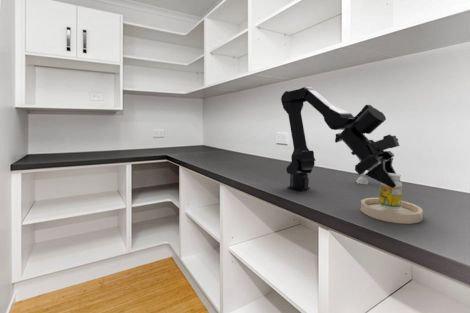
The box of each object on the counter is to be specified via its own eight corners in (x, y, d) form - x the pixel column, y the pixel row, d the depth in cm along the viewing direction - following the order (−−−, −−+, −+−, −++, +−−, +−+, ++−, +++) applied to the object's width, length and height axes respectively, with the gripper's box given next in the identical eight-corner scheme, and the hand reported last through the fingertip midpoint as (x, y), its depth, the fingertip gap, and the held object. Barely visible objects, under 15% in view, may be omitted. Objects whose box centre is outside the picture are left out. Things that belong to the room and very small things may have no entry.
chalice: (374, 184, 107) (377, 142, 104) (359, 184, 106) (362, 142, 104) (364, 180, 114) (367, 141, 111) (350, 181, 113) (352, 141, 111)
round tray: (351, 212, 73) (352, 204, 73) (372, 202, 83) (373, 195, 82) (411, 228, 62) (412, 219, 61) (428, 214, 71) (429, 206, 71)
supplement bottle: (404, 209, 70) (408, 176, 68) (385, 209, 70) (388, 176, 68) (392, 203, 75) (395, 172, 73) (375, 203, 75) (377, 172, 74)
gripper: (371, 125, 65) (417, 173, 59) (389, 125, 78) (429, 164, 72) (338, 152, 72) (378, 197, 66) (360, 148, 85) (395, 185, 79)
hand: (396, 185), depth 70 cm, fingers closed on supplement bottle, 5 cm apart
